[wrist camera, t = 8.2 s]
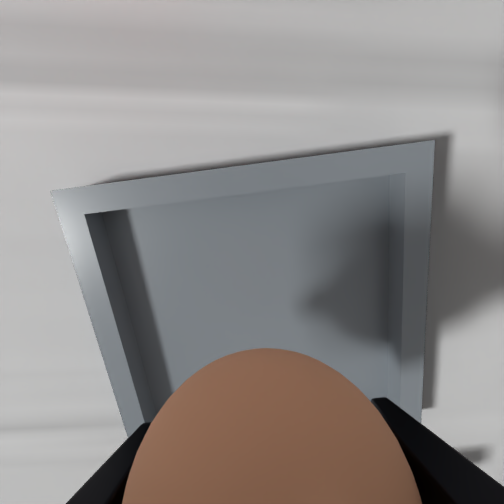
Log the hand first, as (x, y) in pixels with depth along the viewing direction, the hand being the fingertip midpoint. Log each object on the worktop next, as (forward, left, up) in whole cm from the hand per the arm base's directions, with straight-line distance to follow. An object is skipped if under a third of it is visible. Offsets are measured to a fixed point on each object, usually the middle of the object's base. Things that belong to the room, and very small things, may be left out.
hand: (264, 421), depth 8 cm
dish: (0, 0, -6) cm, 6 cm away
